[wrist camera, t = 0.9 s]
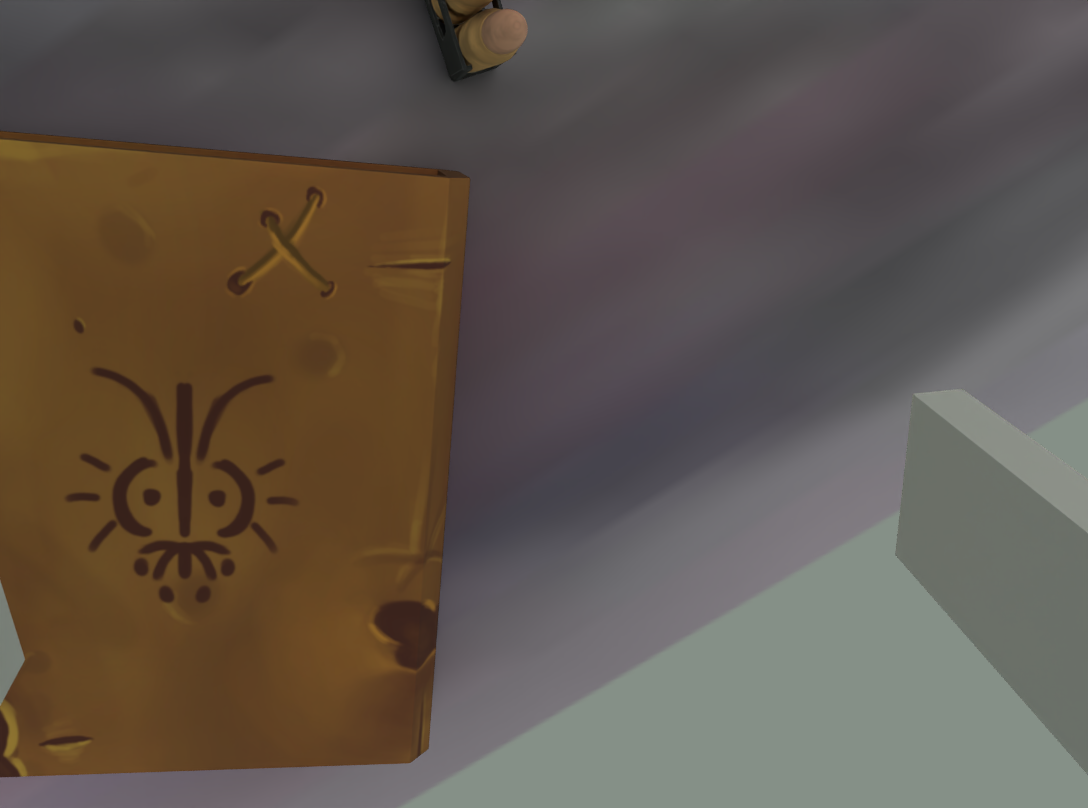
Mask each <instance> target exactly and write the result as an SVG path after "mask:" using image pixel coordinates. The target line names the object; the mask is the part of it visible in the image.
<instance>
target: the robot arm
mask: <svg viewBox="0 0 1088 808" xmlns="http://www.w3.org/2000/svg"><path fill="white" fill-rule="evenodd" d="M895 554H896V556H897V557H898V558H899V559H900V561H901V562H902V563H903V564H904V565H905V566H906V567H907V569H908V570H909V571H910V572H911V573H912V574H913V576H914V577H915V578H916V579H917V580H918V581H919V582H920V584H921V585H922V586H923V587H924V588H925V589H926V590H927V592H928V593H929V594H930V595H931V596H932V597H933V598H934V600H935V601H936V602H937V603H938V604H939V605H940V606H941V607H942V609H943V610H944V611H945V612H946V613H947V614H948V615H949V617H950V618H951V619H952V620H953V621H954V622H955V624H957V626H958V627H959V628H960V629H961V630H962V632H963V633H964V634H965V635H966V636H967V637H968V638H969V640H970V641H971V642H972V643H973V644H974V645H975V646H976V647H977V649H978V650H979V651H980V652H981V653H982V654H983V655H984V657H985V658H986V659H987V660H988V661H989V662H990V663H991V665H992V666H993V667H994V668H995V669H996V670H997V672H998V673H999V674H1000V675H1001V676H1002V677H1003V678H1004V679H1005V681H1006V682H1007V683H1008V684H1009V685H1010V686H1011V688H1012V689H1013V690H1014V691H1015V692H1016V693H1017V694H1018V696H1019V697H1020V698H1021V699H1022V700H1023V701H1024V702H1025V704H1026V705H1027V706H1028V707H1029V708H1030V709H1031V710H1032V711H1033V712H1034V714H1035V715H1036V716H1037V717H1038V718H1039V719H1040V721H1041V722H1042V723H1043V724H1044V725H1045V726H1046V728H1047V729H1048V730H1049V731H1050V732H1051V733H1052V734H1053V735H1054V737H1055V738H1056V739H1057V740H1058V741H1059V742H1060V743H1061V745H1062V746H1063V747H1064V748H1065V749H1066V750H1067V751H1068V753H1069V754H1070V755H1071V756H1072V757H1073V758H1074V760H1075V761H1076V762H1077V763H1078V764H1079V765H1080V766H1081V768H1082V769H1083V770H1084V771H1085V772H1086V773H1087V774H1088V479H1087V478H1085V477H1084V476H1083V475H1081V474H1080V473H1079V472H1077V471H1076V470H1074V469H1073V468H1072V467H1070V466H1069V465H1067V464H1066V463H1065V462H1063V461H1062V460H1060V459H1059V458H1058V457H1056V456H1055V455H1054V454H1052V453H1051V452H1049V451H1048V450H1047V449H1045V448H1043V447H1042V446H1041V445H1040V444H1038V443H1037V442H1035V441H1034V440H1033V439H1031V438H1030V437H1028V436H1027V435H1026V434H1024V433H1023V432H1021V431H1020V430H1019V429H1017V428H1016V427H1015V426H1013V425H1012V424H1010V423H1009V422H1008V421H1006V420H1005V419H1003V418H1002V417H1001V416H999V415H998V414H996V413H995V412H994V411H992V410H991V409H989V408H988V407H987V406H985V405H984V404H982V403H981V402H980V401H978V400H977V399H976V398H974V397H973V396H971V395H970V394H969V393H967V392H966V391H964V390H963V389H956V390H947V391H937V392H927V393H917V394H913V398H912V407H911V416H910V425H909V434H908V443H907V452H906V461H905V471H904V480H903V489H902V498H901V507H900V516H899V525H898V534H897V544H896V553H895ZM24 661H25V658H24V654H23V651H22V648H21V645H20V642H19V639H18V635H17V632H16V629H15V626H14V623H13V619H12V616H11V613H10V610H9V607H8V603H7V600H6V597H5V594H4V591H3V588H2V584H1V581H0V705H1V703H2V701H3V700H4V698H5V696H6V694H7V692H8V690H9V689H10V687H11V685H12V683H13V681H14V679H15V677H16V676H17V674H18V672H19V670H20V668H21V666H22V664H23V663H24Z"/></svg>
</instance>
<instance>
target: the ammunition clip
mask: <svg viewBox="0 0 1088 808" xmlns="http://www.w3.org/2000/svg"><path fill="white" fill-rule="evenodd" d="M491 1H492V4H493V8H491V9H485V8H484V7H485V6H486V5H488V4H489V3H490V2H491ZM425 2H426V5H427V8H428V11H429V14H430V18H431V21H432V24H433V27H434V30H435V33H436V36H437V39H438V42H439V45H440V48H441V51H442V54H443V57H444V60H445V63H446V67H447V70H448V73H449V76H450V78H451V79H452V80H453V81H454V82H455V81H458V80H461V79H464V78H467V77H470V76H473V75H476V74H479V73H482V72H485V71H488V70H491V69H494V68H497V67H498V66H499V65H501V64H502V63H504V62H505V61H507V60H509V59H511V57H512V56H514V55H515V54H516V52H517V49H518V48H519V47H520V46H521V45H522V43H523V42H524V41H525V38H526V36H527V23H526V20H525V19H524V17H523V16H522V15H521V14H520V13H518V12H517V11H515V10H511V9H503V8H502V4H501V1H500V0H425Z"/></svg>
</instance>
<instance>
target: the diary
mask: <svg viewBox="0 0 1088 808" xmlns="http://www.w3.org/2000/svg"><path fill="white" fill-rule="evenodd" d="M469 188H470V178H469V177H467V176H465V175H464V174H462V173H460V172H457V171H450V170H441V169H429V168H418V167H407V166H395V165H384V164H372V163H361V162H350V161H338V160H327V159H315V158H304V157H292V156H281V155H270V154H258V153H247V152H235V151H224V150H213V149H201V148H190V147H178V146H167V145H156V144H144V143H133V142H121V141H110V140H99V139H87V138H76V137H64V136H53V135H41V134H30V133H19V132H7V131H0V581H1V584H2V588H3V591H4V594H5V597H6V600H7V603H8V607H9V610H10V613H11V616H12V619H13V623H14V626H15V629H16V632H17V635H18V639H19V642H20V645H21V648H22V651H23V654H24V658H25V661H24V663H23V664H22V666H21V668H20V670H19V672H18V674H17V676H16V677H15V679H14V681H13V683H12V685H11V687H10V689H9V690H8V692H7V694H6V696H5V698H4V700H3V701H2V703H1V705H0V777H21V776H50V775H79V774H108V773H137V772H166V771H195V770H224V769H253V768H282V767H311V766H340V765H369V764H398V763H411V762H412V761H413V760H415V759H416V758H417V757H418V756H420V755H421V754H422V753H424V752H425V751H426V750H427V749H428V748H429V734H430V720H431V707H432V693H433V679H434V666H435V652H436V638H437V625H438V611H439V597H440V584H441V570H442V556H443V543H444V529H445V515H446V502H447V488H448V475H449V461H450V447H451V434H452V420H453V406H454V393H455V379H456V365H457V352H458V338H459V324H460V311H461V297H462V283H463V270H464V256H465V242H466V229H467V215H468V201H469Z"/></svg>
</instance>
